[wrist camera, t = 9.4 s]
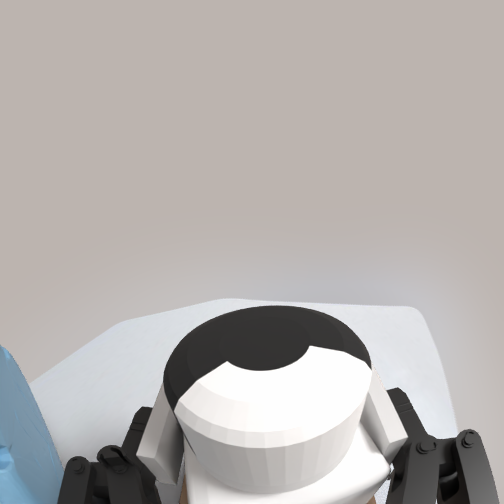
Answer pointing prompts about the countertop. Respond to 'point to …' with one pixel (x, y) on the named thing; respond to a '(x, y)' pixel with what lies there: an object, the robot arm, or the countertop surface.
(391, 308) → the countertop surface
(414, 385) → the countertop surface
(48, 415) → the countertop surface
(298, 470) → the medicine bottle
